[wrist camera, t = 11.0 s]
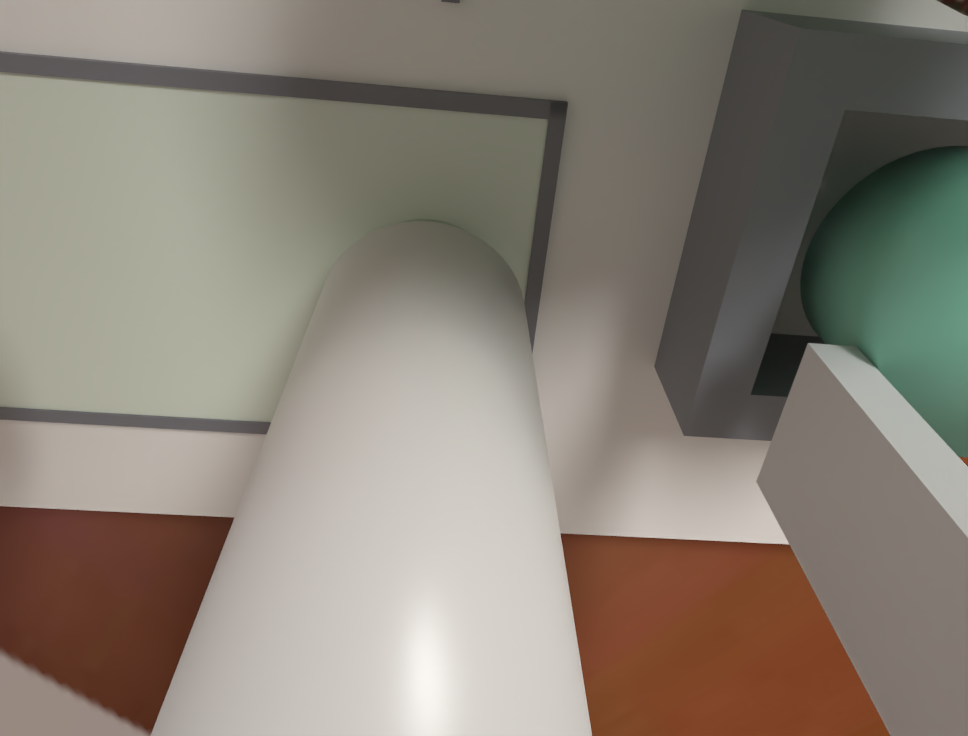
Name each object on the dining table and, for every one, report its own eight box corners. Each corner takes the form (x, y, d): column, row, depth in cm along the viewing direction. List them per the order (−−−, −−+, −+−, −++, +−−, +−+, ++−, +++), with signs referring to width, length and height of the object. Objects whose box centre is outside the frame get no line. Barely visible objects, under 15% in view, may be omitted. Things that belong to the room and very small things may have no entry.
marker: (325, 187, 14) (-108, 1021, 3) (534, 204, 14) (738, 1025, 4) (330, 368, 16) (70, 1229, 5) (512, 379, 16) (601, 1223, 6)
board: (-471, -558, 9) (-908, -783, 6) (1264, -321, 11) (1563, -412, 8) (-69, 474, 18) (-174, 583, 15) (861, 521, 20) (931, 628, 17)
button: (845, 135, 12) (950, 194, 9) (1084, 156, 12) (1250, 219, 9) (771, 354, 14) (839, 450, 11) (976, 367, 14) (1087, 464, 11)
